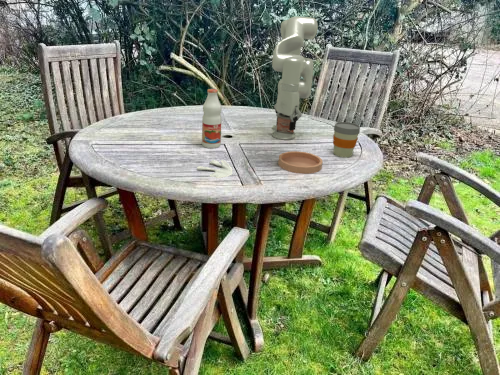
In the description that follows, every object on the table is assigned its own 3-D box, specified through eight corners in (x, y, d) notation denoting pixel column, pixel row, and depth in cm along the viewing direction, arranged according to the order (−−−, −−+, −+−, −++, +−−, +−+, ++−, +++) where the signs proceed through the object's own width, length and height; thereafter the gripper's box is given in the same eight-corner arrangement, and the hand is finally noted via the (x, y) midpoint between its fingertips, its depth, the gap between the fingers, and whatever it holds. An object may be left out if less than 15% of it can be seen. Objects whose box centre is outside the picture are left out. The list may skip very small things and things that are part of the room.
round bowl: (269, 162, 188) (269, 156, 187) (298, 154, 201) (299, 148, 200) (301, 177, 175) (302, 170, 174) (330, 167, 188) (331, 161, 186)
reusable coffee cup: (357, 153, 208) (362, 124, 202) (352, 160, 198) (357, 131, 192) (333, 148, 213) (337, 120, 206) (327, 155, 202) (331, 126, 196)
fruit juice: (217, 141, 210) (218, 87, 198) (223, 147, 203) (225, 91, 191) (199, 143, 207) (200, 87, 195) (205, 149, 199) (206, 92, 187)
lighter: (294, 133, 182) (297, 111, 178) (292, 135, 179) (295, 112, 175) (277, 130, 184) (279, 108, 180) (275, 132, 181) (277, 110, 177)
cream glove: (220, 183, 166) (220, 177, 165) (179, 169, 176) (179, 164, 175) (247, 168, 182) (247, 163, 181) (208, 156, 192) (209, 151, 191)
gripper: (269, 84, 177) (266, 123, 184) (298, 92, 165) (293, 134, 172) (282, 82, 181) (278, 121, 189) (310, 91, 169) (305, 131, 177)
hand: (285, 127), depth 181 cm, fingers closed on lighter, 7 cm apart
